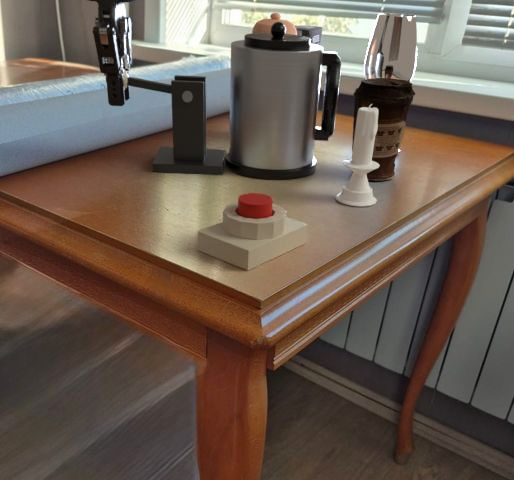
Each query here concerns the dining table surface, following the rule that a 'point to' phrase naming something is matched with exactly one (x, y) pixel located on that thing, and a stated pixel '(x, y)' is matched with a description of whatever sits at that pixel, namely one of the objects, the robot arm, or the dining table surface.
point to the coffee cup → (385, 119)
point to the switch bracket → (189, 132)
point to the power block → (251, 237)
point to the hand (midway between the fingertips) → (119, 101)
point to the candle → (361, 160)
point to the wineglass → (392, 48)
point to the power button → (255, 206)
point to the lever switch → (145, 84)
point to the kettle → (279, 104)
